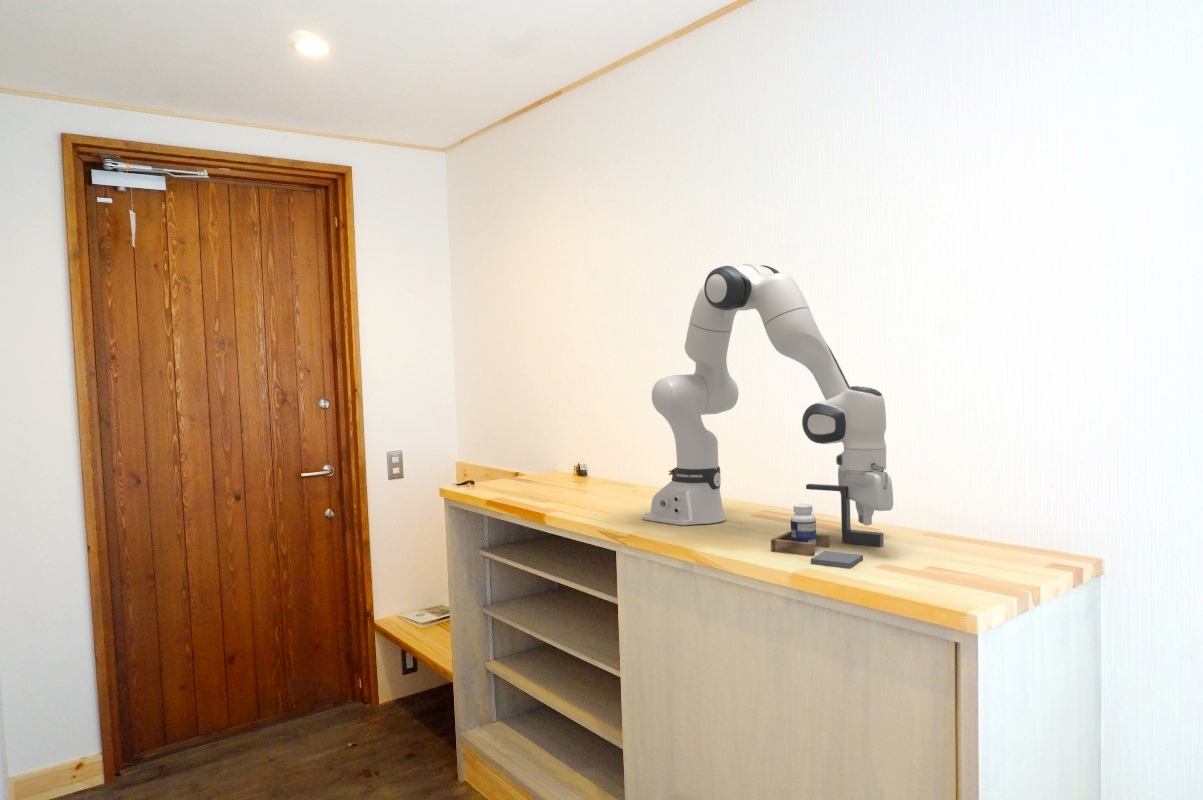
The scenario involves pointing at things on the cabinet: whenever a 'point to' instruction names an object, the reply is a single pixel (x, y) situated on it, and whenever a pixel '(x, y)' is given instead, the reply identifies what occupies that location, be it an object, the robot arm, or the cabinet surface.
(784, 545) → the cradle
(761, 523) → the cabinet surface
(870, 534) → the gate
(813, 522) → the pill bottle
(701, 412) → the robot arm
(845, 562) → the mat
